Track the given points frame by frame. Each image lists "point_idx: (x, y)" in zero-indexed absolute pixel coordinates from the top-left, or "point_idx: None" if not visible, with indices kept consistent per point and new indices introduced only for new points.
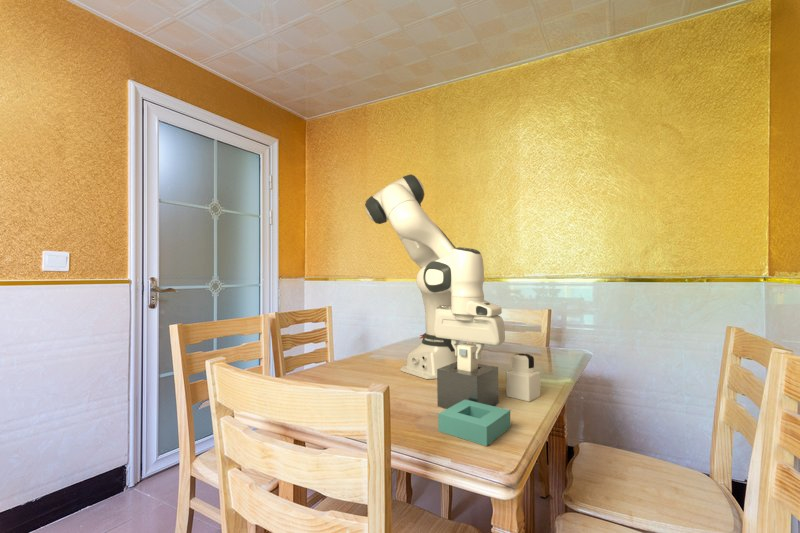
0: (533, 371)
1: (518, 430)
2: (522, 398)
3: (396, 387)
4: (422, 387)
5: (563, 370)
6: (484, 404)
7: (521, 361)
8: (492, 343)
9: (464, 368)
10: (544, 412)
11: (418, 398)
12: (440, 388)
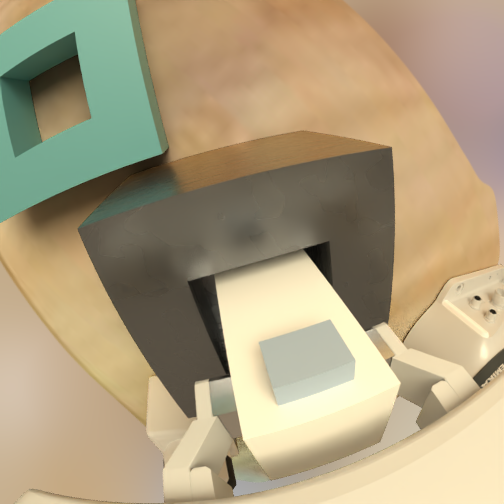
0: None
1: None
2: None
3: (473, 170)
4: (434, 226)
5: (253, 481)
6: (70, 183)
7: None
8: (45, 502)
9: (264, 284)
10: (76, 351)
11: (393, 142)
12: (318, 138)
